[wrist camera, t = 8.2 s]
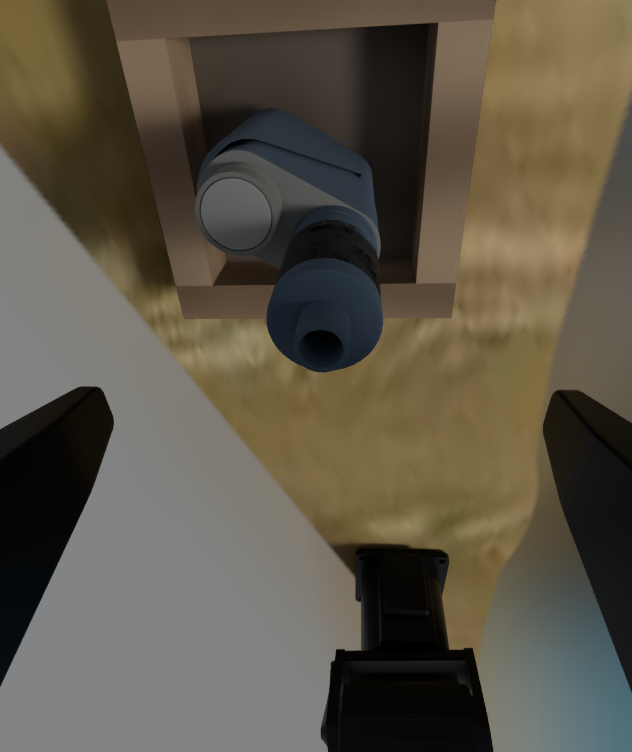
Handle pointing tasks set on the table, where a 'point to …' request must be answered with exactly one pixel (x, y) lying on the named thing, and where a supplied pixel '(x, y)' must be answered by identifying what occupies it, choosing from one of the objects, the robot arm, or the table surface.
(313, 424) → the table surface
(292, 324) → the vaping device
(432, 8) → the socket block
